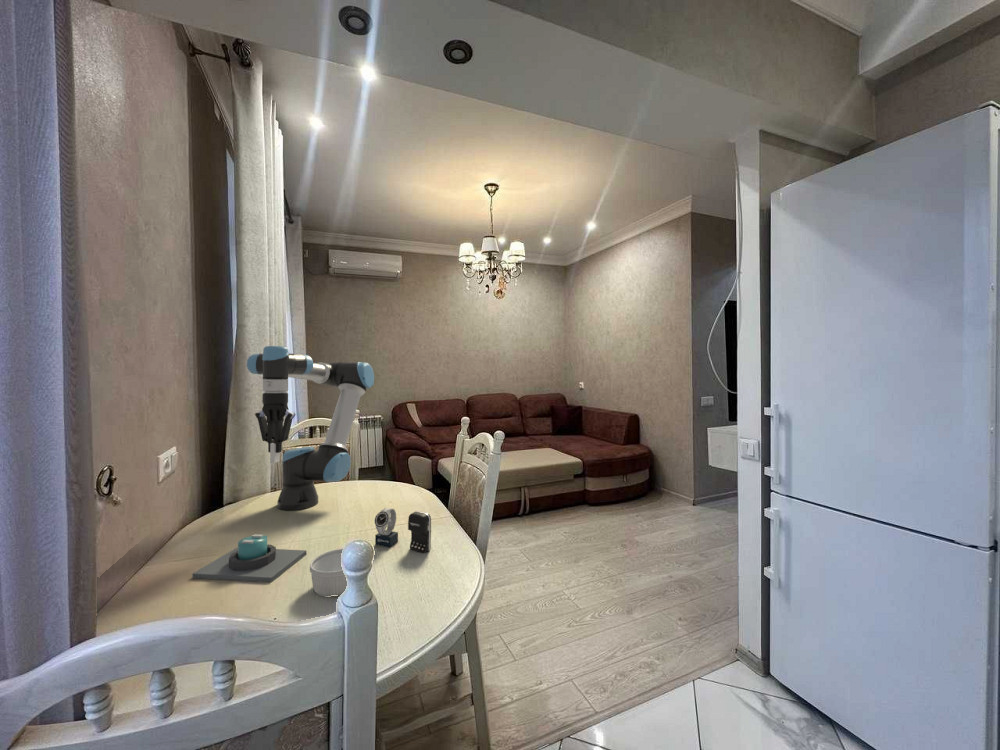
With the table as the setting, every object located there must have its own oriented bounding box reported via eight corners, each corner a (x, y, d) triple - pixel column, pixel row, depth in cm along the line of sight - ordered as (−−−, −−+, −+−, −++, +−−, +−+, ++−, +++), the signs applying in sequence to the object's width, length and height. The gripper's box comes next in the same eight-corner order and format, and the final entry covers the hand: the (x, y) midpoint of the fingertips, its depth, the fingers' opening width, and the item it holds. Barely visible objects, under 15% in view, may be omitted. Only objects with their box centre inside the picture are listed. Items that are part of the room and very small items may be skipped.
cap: (250, 555, 116) (250, 532, 116) (272, 556, 115) (272, 533, 115) (231, 566, 109) (231, 542, 109) (255, 567, 108) (255, 543, 108)
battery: (406, 549, 123) (406, 513, 123) (414, 545, 126) (414, 509, 126) (423, 555, 119) (423, 517, 119) (431, 550, 123) (431, 513, 123)
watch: (371, 547, 124) (371, 512, 124) (386, 537, 132) (386, 504, 132) (386, 549, 123) (387, 514, 123) (401, 539, 130) (401, 506, 130)
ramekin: (308, 605, 93) (308, 576, 93) (310, 579, 105) (310, 552, 105) (367, 593, 98) (367, 565, 98) (363, 569, 110) (363, 544, 110)
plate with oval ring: (237, 551, 121) (237, 539, 121) (306, 554, 119) (306, 542, 119) (192, 577, 105) (192, 564, 105) (271, 582, 103) (271, 568, 103)
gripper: (249, 392, 130) (248, 464, 130) (287, 392, 129) (286, 465, 129) (264, 391, 138) (264, 459, 138) (300, 391, 137) (300, 460, 137)
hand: (274, 462), depth 134 cm, fingers closed
